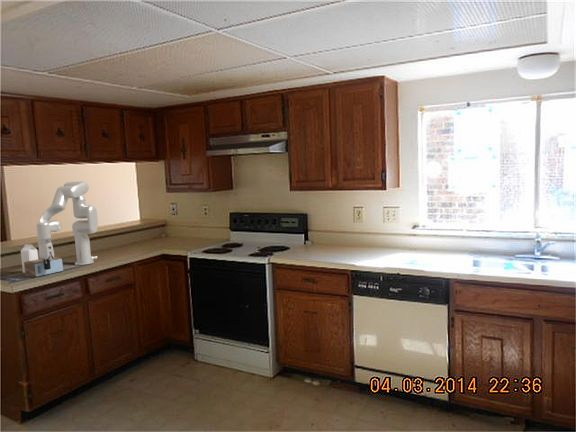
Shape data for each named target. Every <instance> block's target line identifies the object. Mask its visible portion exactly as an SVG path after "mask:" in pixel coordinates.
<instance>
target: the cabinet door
mask: <svg viewBox="0 0 576 432" xmlns="http://www.w3.org/2000/svg"><path fill="white" fill-rule="evenodd" d="M44 264H45V263H43V262H42V263H37V264H34V265H35V275H36V276H38V277H41V275H42V276H45V275H46V274H47V275H51V274H56V273H60V272H63V271H64V264H63V259H62V258H61V259H58V260H52V261H51V263H50V267H51V269H48V270H45V269H44ZM59 271H60V272H59ZM55 272H56V273H55ZM50 273H51V274H50ZM47 275H46V276H47Z"/></svg>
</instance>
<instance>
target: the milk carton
mask: <svg viewBox="0 0 576 432" xmlns="http://www.w3.org/2000/svg"><path fill="white" fill-rule="evenodd" d="M20 259H21V268H22V273H23V274H25V268H24V262H27V261H32V260H37V259H39V251H38V249H37V248H36V247H34V245H33V244H26V243H25V244H24V246H23V247H22V249H21V250H20Z"/></svg>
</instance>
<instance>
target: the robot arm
mask: <svg viewBox="0 0 576 432" xmlns="http://www.w3.org/2000/svg"><path fill="white" fill-rule="evenodd" d="M88 191H89V184H88V183H87V182H86V181H69V182H65V183H64V184H63V186H61V185H60V186H59V187H57V188H56V191H55V194H54V196H53V200H52V202H51V205H50V206H49V207H47V209H45V211H43V212H42V214H41V215H40V218H39V220H38V222H37V223H36V235H37V244H38V258H39V259H41V260H43V263H45V264H44V269H45V270H48V269H51V267H50V263H51V261H52V258H54V257H55V251H54V246H53V243H52V234H51V233H57V232H60V231H61V230H62V227H63V225H62V223H61V222H60V221H59V220H50V219H52V217H54V216H56V215H57V214H60V213H62V212H63V211H65V210H66V207H67V203H68V201H69V199H71V201H72V212H73V216H74V218H76V219H80V220H76V221H74V222H73V223H72V225H71V227H72V228H71V229H72V233H73V235H74V243H75V255H76V262H74V265H75V266H82V265H83V266H86V265H90V264H94V262H95V261H94V260H97V259H98V256H97V255H95V256H93V255H92V254H91V244H90V243H91V241H90V237H89V236H88V234H95V233H96V232H97V231H98V229H99V223H98V211H97V208H96V207H95V206H94V205H91V204H86V203H87V202H86V197H85V194H87V192H88ZM81 219H84V220H81ZM85 219H86V220H85Z"/></svg>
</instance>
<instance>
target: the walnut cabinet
mask: <svg viewBox="0 0 576 432" xmlns="http://www.w3.org/2000/svg"><path fill="white" fill-rule="evenodd" d="M58 259H62V258H61V257H55V256H54V258H52V260H58ZM42 262H43V260H41V258H38V259H37V260H32V261H27V262H24V268H25V273H24V275H26V277H31V278H32V277H33V278H37V277H39V276H36V275H35V265H34V264H37V263H42ZM56 273H57V272H55V273H54V274H56ZM58 273H61V271H59V272H58ZM51 274H52V273H50V274H49V275H51ZM47 275H48V274H46V276H47ZM41 276H43V275H41ZM41 276H40V277H41Z"/></svg>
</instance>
